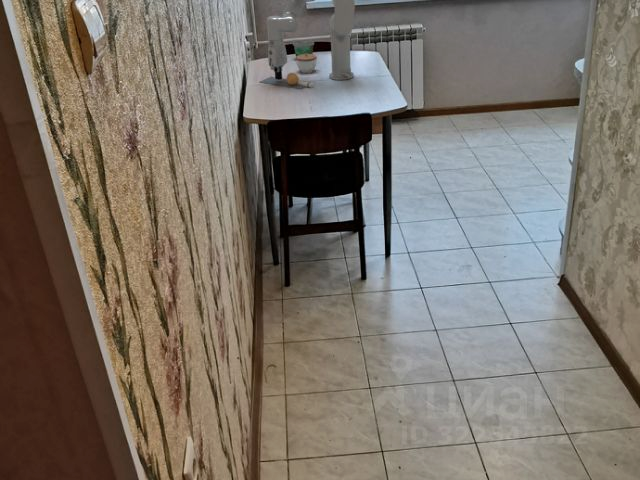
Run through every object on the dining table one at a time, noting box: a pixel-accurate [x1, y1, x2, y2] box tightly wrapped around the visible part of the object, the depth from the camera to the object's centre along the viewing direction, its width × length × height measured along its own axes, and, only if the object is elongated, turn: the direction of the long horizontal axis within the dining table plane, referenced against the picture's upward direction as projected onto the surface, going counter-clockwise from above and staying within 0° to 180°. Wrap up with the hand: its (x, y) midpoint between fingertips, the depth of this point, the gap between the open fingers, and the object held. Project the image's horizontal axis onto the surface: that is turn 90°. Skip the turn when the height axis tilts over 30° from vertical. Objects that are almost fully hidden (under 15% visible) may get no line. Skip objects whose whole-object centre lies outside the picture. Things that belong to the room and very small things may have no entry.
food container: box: [292, 40, 315, 58], centre depth 368 cm, size 12×6×10 cm, turn 73°
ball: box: [285, 72, 299, 85], centre depth 329 cm, size 6×6×6 cm
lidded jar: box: [295, 53, 318, 74], centre depth 349 cm, size 11×11×9 cm
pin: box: [297, 80, 314, 88], centre depth 328 cm, size 2×2×8 cm
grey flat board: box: [259, 76, 306, 90], centre depth 334 cm, size 26×10×1 cm, turn 56°
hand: (278, 78), depth 336 cm, fingers closed
